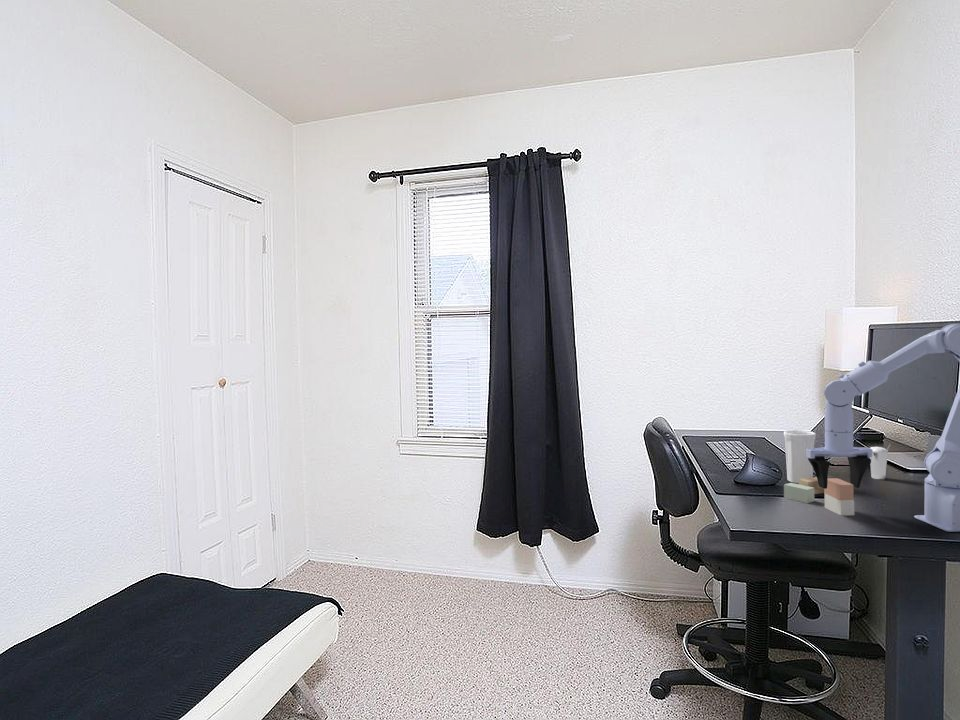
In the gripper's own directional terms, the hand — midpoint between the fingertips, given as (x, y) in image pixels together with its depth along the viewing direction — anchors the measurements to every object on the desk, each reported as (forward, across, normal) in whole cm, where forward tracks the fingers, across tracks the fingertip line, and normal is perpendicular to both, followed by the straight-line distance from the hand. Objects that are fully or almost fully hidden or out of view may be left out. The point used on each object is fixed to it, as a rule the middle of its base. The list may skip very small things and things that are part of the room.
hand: (839, 487), depth 133 cm
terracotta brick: (+2, 0, 0) cm, 2 cm away
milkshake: (+6, -29, -28) cm, 41 cm away
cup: (+6, -5, -26) cm, 27 cm away
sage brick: (+6, +4, -10) cm, 12 cm away
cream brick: (+6, 0, 0) cm, 6 cm away
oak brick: (+6, -3, -16) cm, 17 cm away
